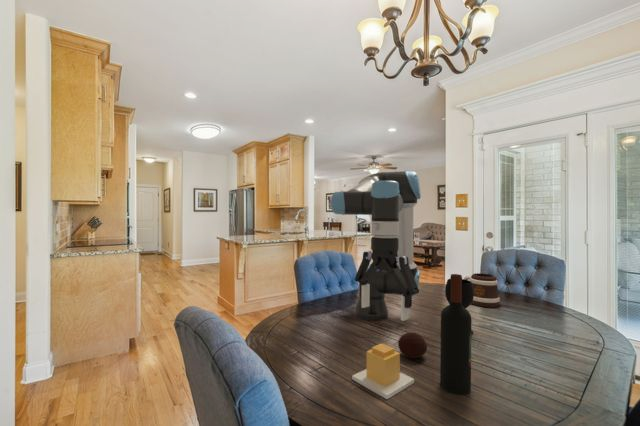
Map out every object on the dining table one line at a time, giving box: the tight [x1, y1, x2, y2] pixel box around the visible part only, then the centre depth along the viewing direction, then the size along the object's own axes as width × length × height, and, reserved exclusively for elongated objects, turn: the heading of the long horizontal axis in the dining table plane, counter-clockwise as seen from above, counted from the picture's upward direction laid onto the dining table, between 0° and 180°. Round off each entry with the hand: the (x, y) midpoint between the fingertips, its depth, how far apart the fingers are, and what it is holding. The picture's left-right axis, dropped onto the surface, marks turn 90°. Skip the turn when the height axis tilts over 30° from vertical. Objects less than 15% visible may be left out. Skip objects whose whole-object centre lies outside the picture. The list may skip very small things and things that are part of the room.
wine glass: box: [444, 278, 474, 336], centre depth 122 cm, size 10×10×20 cm
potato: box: [397, 332, 428, 360], centre depth 99 cm, size 8×9×8 cm
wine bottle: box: [439, 273, 472, 396], centre depth 82 cm, size 8×8×30 cm
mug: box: [463, 273, 501, 309], centre depth 162 cm, size 20×15×15 cm
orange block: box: [365, 343, 401, 387], centre depth 84 cm, size 6×6×8 cm
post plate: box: [351, 368, 415, 400], centre depth 85 cm, size 12×12×6 cm
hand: (383, 312), depth 85 cm, fingers open, 13 cm apart
